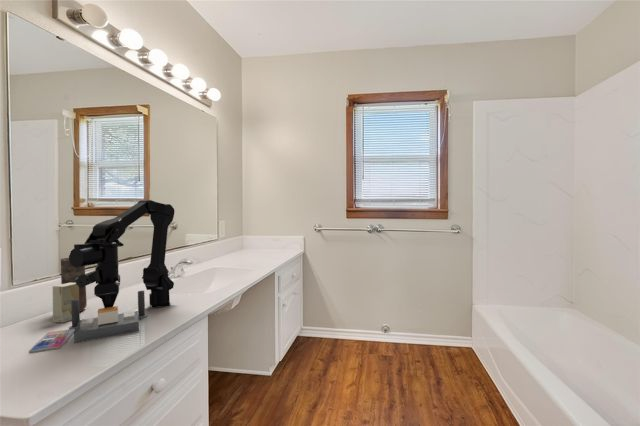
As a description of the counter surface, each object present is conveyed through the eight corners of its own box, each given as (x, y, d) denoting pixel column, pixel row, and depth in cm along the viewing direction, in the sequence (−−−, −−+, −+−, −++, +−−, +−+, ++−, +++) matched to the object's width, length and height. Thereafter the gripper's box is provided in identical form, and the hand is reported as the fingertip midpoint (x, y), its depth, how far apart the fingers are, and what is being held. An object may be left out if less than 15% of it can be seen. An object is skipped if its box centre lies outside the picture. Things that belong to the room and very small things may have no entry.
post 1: (83, 325, 105) (82, 297, 105) (82, 328, 102) (81, 300, 102) (69, 327, 103) (68, 299, 103) (68, 331, 100) (67, 302, 100)
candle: (65, 309, 122) (64, 257, 121) (89, 307, 125) (87, 255, 124) (58, 315, 115) (57, 260, 114) (83, 312, 118) (81, 258, 117)
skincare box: (62, 323, 107) (61, 286, 107) (52, 322, 108) (51, 286, 108) (80, 316, 113) (79, 282, 113) (70, 316, 114) (69, 281, 114)
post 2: (147, 314, 114) (146, 289, 114) (147, 317, 111) (147, 291, 111) (135, 316, 112) (134, 291, 112) (135, 319, 109) (135, 293, 109)
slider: (118, 318, 101) (117, 306, 101) (117, 321, 98) (117, 308, 98) (98, 321, 98) (98, 308, 98) (98, 324, 95) (97, 311, 95)
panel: (138, 319, 109) (137, 308, 109) (139, 331, 99) (138, 318, 99) (79, 329, 101) (79, 317, 101) (74, 343, 90) (73, 330, 90)
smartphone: (76, 328, 101) (61, 346, 87) (76, 331, 101) (61, 350, 87) (47, 331, 98) (26, 351, 84) (47, 335, 98) (26, 355, 84)
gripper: (80, 260, 108) (82, 306, 108) (72, 269, 92) (73, 323, 92) (119, 257, 114) (121, 301, 114) (118, 265, 98) (119, 316, 98)
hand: (109, 309), depth 104 cm, fingers open, 9 cm apart
